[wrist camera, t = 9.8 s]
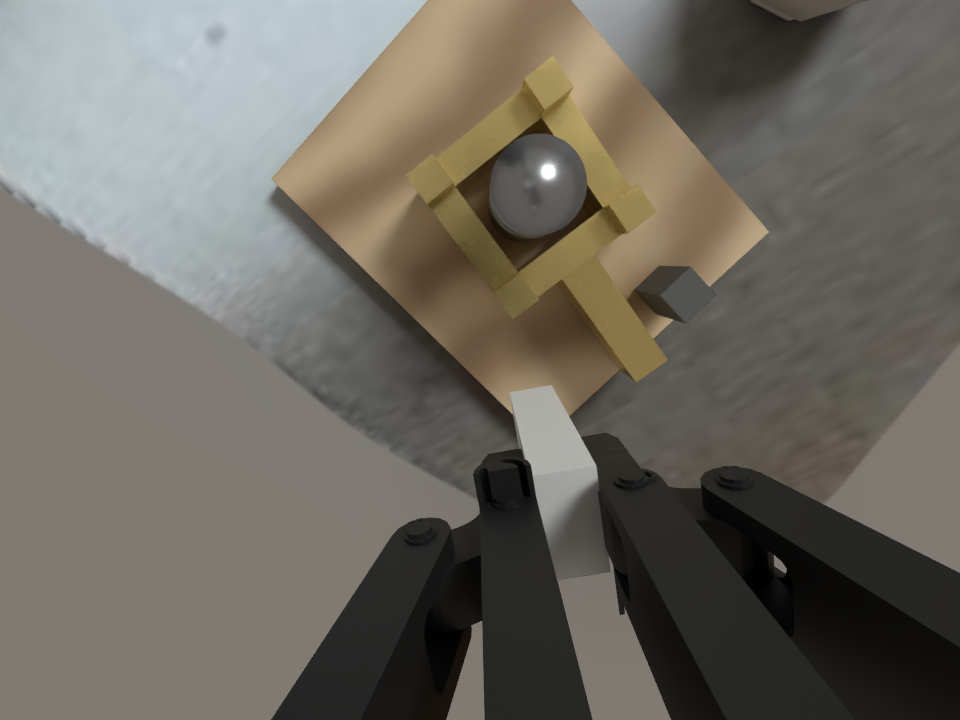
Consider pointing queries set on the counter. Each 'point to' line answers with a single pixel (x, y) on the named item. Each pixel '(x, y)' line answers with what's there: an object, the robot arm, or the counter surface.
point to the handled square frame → (573, 251)
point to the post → (536, 187)
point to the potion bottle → (802, 7)
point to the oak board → (435, 127)
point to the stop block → (675, 292)
